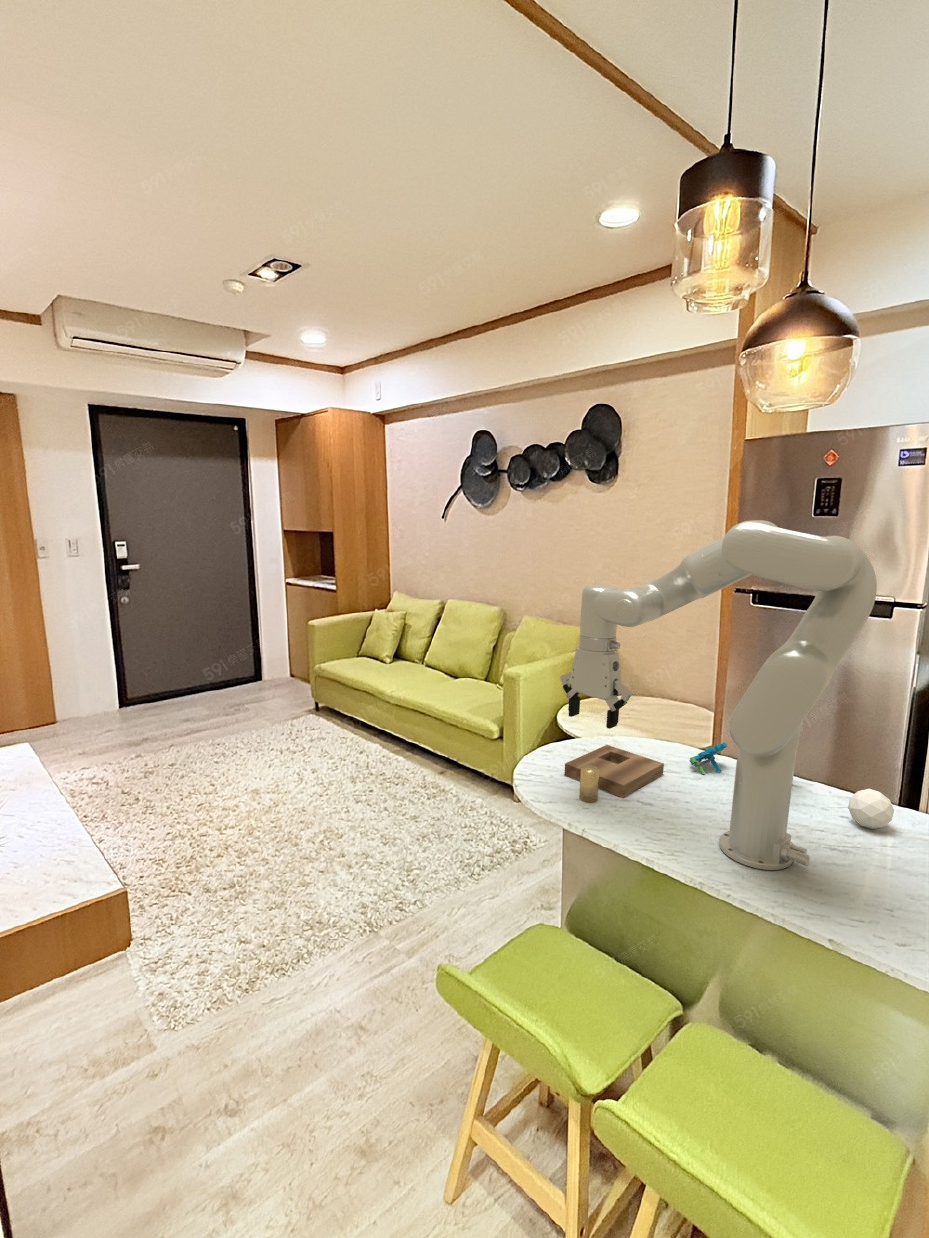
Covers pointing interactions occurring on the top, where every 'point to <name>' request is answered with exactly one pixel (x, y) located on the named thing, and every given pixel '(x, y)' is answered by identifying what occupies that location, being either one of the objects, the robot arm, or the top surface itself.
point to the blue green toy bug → (708, 757)
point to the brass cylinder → (589, 784)
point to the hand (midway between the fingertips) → (592, 721)
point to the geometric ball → (871, 808)
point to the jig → (617, 769)
